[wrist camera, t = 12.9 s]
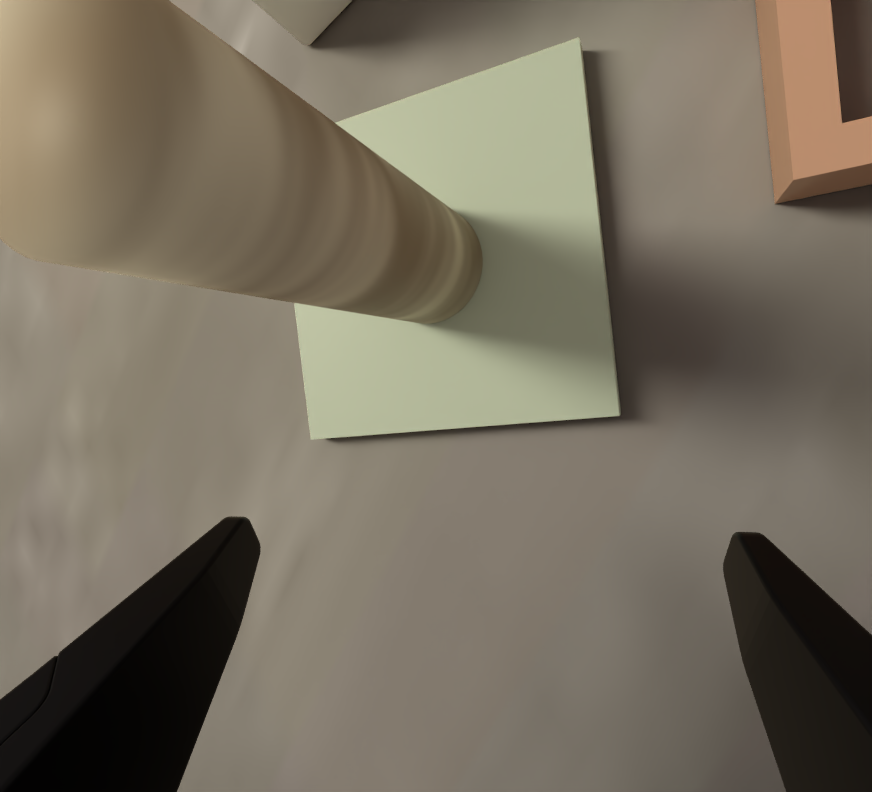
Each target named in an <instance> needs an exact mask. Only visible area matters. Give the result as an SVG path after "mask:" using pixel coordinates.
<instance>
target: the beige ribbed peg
mask: <svg viewBox="0 0 872 792" xmlns="http://www.w3.org/2000/svg"><path fill="white" fill-rule="evenodd" d="M0 239H1V240H2V241H3V242H4V243H5V244H7V245H8V246H9V247H10V248H11V249H13V250H14V251H16V252H17V253H19V254H21V255H23V256H25V257H27V258H30V259H33V260H36V261H42V262H48V263H54V264H60V265H66V266H73V267H79V268H85V269H91V270H97V271H103V272H109V273H115V274H121V275H128V276H134V277H140V278H146V279H152V280H158V281H164V282H170V283H176V284H183V285H189V286H195V287H201V288H207V289H213V290H219V291H225V292H231V293H238V294H244V295H250V296H256V297H262V298H268V299H274V300H280V301H286V302H293V303H299V304H305V305H311V306H317V307H323V308H329V309H335V310H341V311H348V312H354V313H360V314H366V315H372V316H378V317H384V318H390V319H396V320H403V321H409V322H415V323H422V324H431V323H437V322H441V321H444V320H446V319H448V318H450V317H452V316H454V315H455V314H457V313H458V312H459V311H460V310H462V309H463V308H464V307H465V305H466V304H467V303H468V302H469V301H470V299H471V298H472V296H473V295H474V293H475V291H476V289H477V287H478V284H479V281H480V278H481V273H482V265H483V257H482V249H481V245H480V242H479V239H478V237H477V235H476V233H475V231H474V229H473V228H472V226H471V225H470V224H469V223H468V222H467V221H466V220H465V219H464V218H463V217H462V216H460V215H459V214H458V213H456V212H455V211H454V210H452V209H451V208H450V207H448V206H447V205H445V204H444V203H443V202H441V201H440V200H439V199H437V198H436V197H435V196H433V195H432V194H431V193H429V192H428V191H426V190H425V189H424V188H422V187H421V186H420V185H418V184H417V183H416V182H414V181H413V180H412V179H410V178H409V177H407V176H406V175H405V174H403V173H402V172H401V171H399V170H398V169H397V168H395V167H394V166H393V165H391V164H390V163H388V162H387V161H386V160H384V159H383V158H382V157H380V156H379V155H378V154H376V153H375V152H374V151H372V150H371V149H369V148H368V147H367V146H365V145H364V144H363V143H361V142H360V141H359V140H357V139H356V138H355V137H353V136H352V135H350V134H349V133H348V132H346V131H345V130H344V129H342V128H341V127H340V126H338V125H337V124H336V123H334V122H333V121H332V120H330V119H329V118H327V117H326V116H325V115H323V114H322V113H321V112H319V111H318V110H317V109H315V108H314V107H313V106H311V105H310V104H308V103H307V102H306V101H304V100H303V99H302V98H300V97H299V96H298V95H296V94H295V93H294V92H292V91H291V90H289V89H288V88H287V87H285V86H284V85H283V84H281V83H280V82H279V81H277V80H276V79H275V78H273V77H272V76H270V75H269V74H268V73H266V72H265V71H264V70H262V69H261V68H260V67H258V66H257V65H256V64H254V63H253V62H251V61H250V60H249V59H247V58H246V57H245V56H243V55H242V54H241V53H239V52H238V51H237V50H235V49H234V48H232V47H231V46H230V45H228V44H227V43H226V42H224V41H223V40H222V39H220V38H219V37H218V36H216V35H215V34H213V33H212V32H211V31H209V30H208V29H207V28H205V27H204V26H203V25H201V24H200V23H199V22H197V21H196V20H194V19H193V18H192V17H190V16H189V15H188V14H186V13H185V12H184V11H182V10H181V9H180V8H178V7H177V6H175V5H174V4H173V3H171V2H170V1H169V0H0Z"/></svg>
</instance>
